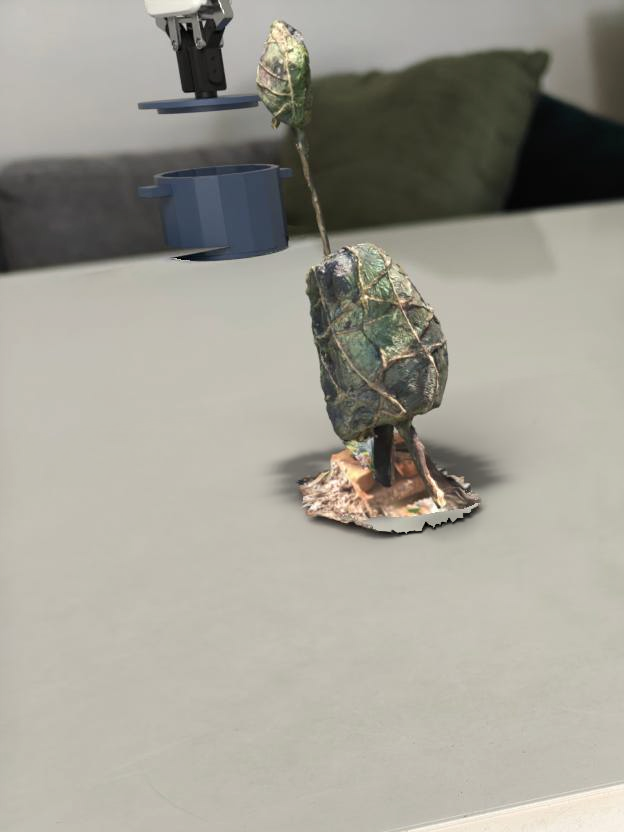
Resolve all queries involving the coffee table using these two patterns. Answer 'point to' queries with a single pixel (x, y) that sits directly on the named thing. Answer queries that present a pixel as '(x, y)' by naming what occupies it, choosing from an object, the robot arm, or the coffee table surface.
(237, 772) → the coffee table surface
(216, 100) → the lid
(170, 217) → the pot
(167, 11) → the robot arm
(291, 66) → the plant with pod
